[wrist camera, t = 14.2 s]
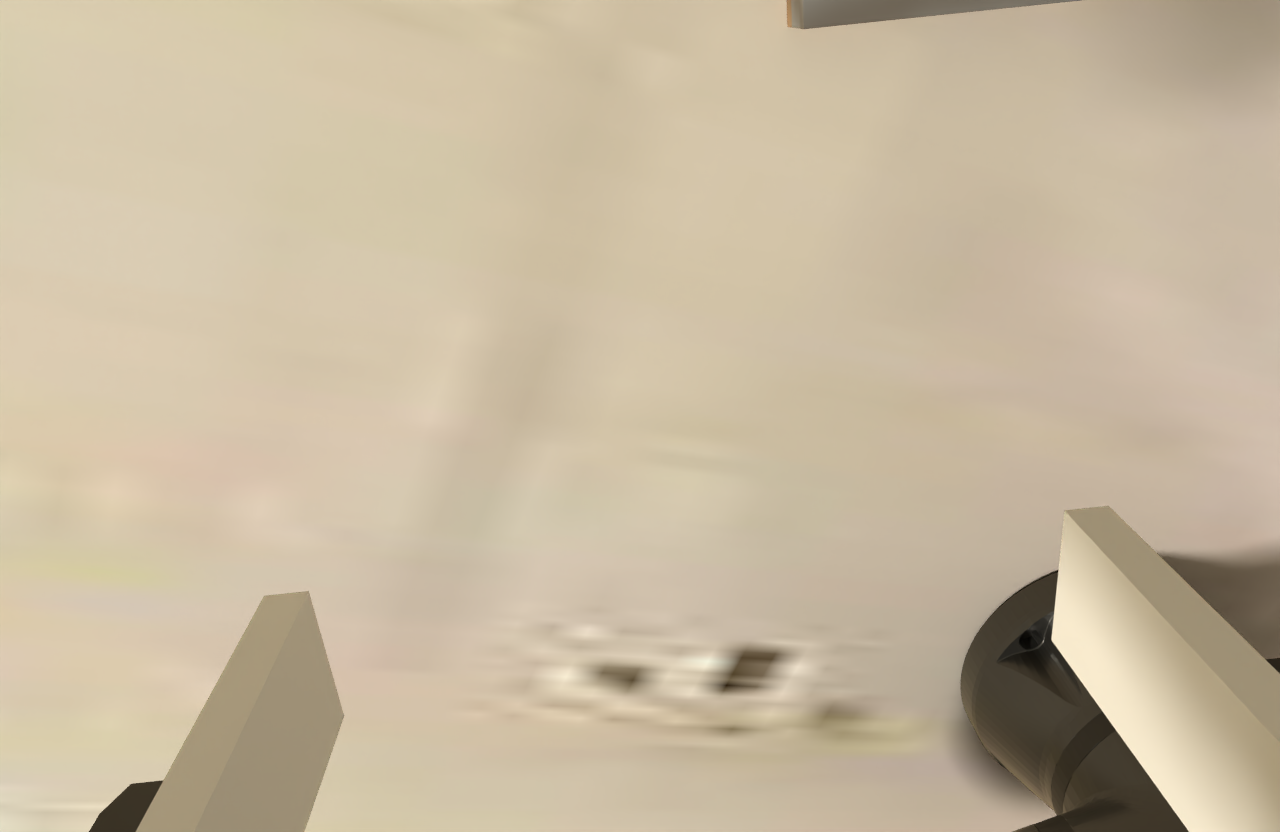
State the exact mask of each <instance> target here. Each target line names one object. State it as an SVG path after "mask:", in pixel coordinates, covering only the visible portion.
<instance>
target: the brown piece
mask: <svg viewBox="0 0 1280 832" xmlns="http://www.w3.org/2000/svg"><path fill="white" fill-rule="evenodd" d="M1070 1H1080V0H787V24H788V27H793V28H800V29H809V28H819V27H828V26H838V25H848V24H857V23H867V22H877V21H886V20H896V19H906V18H915V17H925V16H935V15H944V14H954V13H964V12H973V11H983V10H993V9H1002V8H1012V7H1022V6H1031V5H1041V4H1051V3H1060V2H1070Z"/></svg>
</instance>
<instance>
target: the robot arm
mask: <svg viewBox="0 0 1280 832" xmlns="http://www.w3.org/2000/svg"><path fill="white" fill-rule="evenodd" d="M961 696H962V702H963V705H964V709H965V711H966V714H967V716H968V718H969V720H970V722H971V724H972V725H973V727H974V729H975V731H976V733H977V735H978V737H979V739H980V741H981V742H982V744H983V745H984V747H985V748H986V750H987V751H988V752H989V753H990V755H991V756H992V757H993V758H994V759H995V760H996V761H997V762H998V763H999V764H1000V765H1001V766H1003V767H1004V768H1006V769H1007V770H1008V771H1010V772H1011V773H1012V774H1013V775H1014V776H1015V777H1016V778H1017V779H1019V780H1020V781H1021V782H1022V783H1023V784H1024V785H1025V786H1026V787H1027V788H1028V789H1029V790H1031V791H1032V792H1033V793H1034V794H1035V795H1036V796H1037V797H1039V798H1040V799H1041V800H1042V801H1043V802H1044V803H1045V804H1047V805H1048V806H1049V807H1050V808H1051V809H1052V810H1054V811H1055V813H1056V815H1057V816H1055V817H1052V818H1050V819H1047V820H1044V821H1042V822H1039V823H1036V824H1032V825H1029V826H1027V827H1024V828H1021V829H1018V830H1016V831H1013V832H1280V658H1276V659H1267V660H1265V659H1264V658H1263V657H1262V656H1261V655H1260V654H1259V653H1258V652H1257V651H1256V650H1255V649H1254V648H1253V647H1252V646H1251V645H1250V644H1249V643H1248V642H1247V641H1246V640H1245V639H1244V638H1243V637H1242V636H1241V635H1240V634H1239V633H1238V632H1237V631H1236V630H1235V629H1234V628H1233V627H1232V626H1231V625H1230V624H1229V623H1228V622H1227V621H1226V620H1225V619H1223V618H1222V617H1221V616H1220V615H1219V614H1218V613H1217V612H1216V611H1215V610H1214V609H1213V608H1212V607H1211V606H1210V605H1209V604H1208V603H1207V602H1206V601H1205V600H1204V599H1203V598H1202V597H1201V596H1200V595H1199V594H1198V593H1197V592H1196V591H1195V590H1194V589H1193V588H1192V587H1191V586H1190V585H1189V584H1188V583H1187V582H1186V581H1185V580H1184V579H1183V578H1182V577H1181V576H1180V575H1179V574H1178V573H1177V572H1176V571H1175V570H1173V569H1172V568H1171V567H1170V566H1169V565H1168V564H1167V563H1166V562H1165V561H1164V560H1163V559H1162V558H1161V557H1160V556H1159V555H1158V554H1157V553H1156V552H1155V551H1154V550H1153V549H1152V548H1151V547H1150V546H1149V545H1148V544H1147V543H1146V542H1145V541H1144V540H1143V539H1142V538H1141V537H1140V536H1139V535H1138V534H1137V533H1136V532H1135V531H1134V530H1133V529H1132V528H1131V527H1130V526H1129V525H1128V524H1127V523H1126V522H1124V521H1123V520H1122V519H1121V518H1120V517H1119V516H1118V515H1117V514H1116V513H1115V512H1114V511H1113V510H1112V509H1111V508H1110V507H1109V506H1103V507H1094V508H1084V509H1075V510H1066V511H1065V513H1064V522H1063V532H1062V542H1061V551H1060V561H1059V571H1058V572H1057V573H1054V574H1052V575H1049V576H1047V577H1045V578H1043V579H1040V580H1038V581H1036V582H1035V583H1033V584H1031V585H1029V586H1027V587H1026V588H1024V589H1022V590H1021V591H1019V592H1018V593H1017V594H1015V595H1014V596H1012V597H1011V598H1010V599H1009V600H1007V601H1006V602H1005V603H1004V604H1003V605H1001V606H1000V607H999V608H998V609H997V610H996V611H995V612H994V613H993V614H992V615H991V616H990V618H989V619H988V620H987V621H986V622H985V623H984V625H983V626H982V627H981V629H980V630H979V632H978V633H977V635H976V636H975V638H974V640H973V642H972V643H971V646H970V648H969V650H968V652H967V655H966V657H965V661H964V664H963V669H962V674H961ZM343 718H344V714H343V711H342V707H341V704H340V700H339V697H338V693H337V689H336V686H335V682H334V679H333V675H332V672H331V668H330V665H329V661H328V658H327V654H326V651H325V647H324V644H323V640H322V637H321V633H320V630H319V626H318V623H317V619H316V616H315V612H314V608H313V605H312V601H311V598H310V594H309V591H306V592H296V593H287V594H278V595H268V596H264V597H263V599H262V601H261V603H260V605H259V606H258V608H257V610H256V612H255V614H254V616H253V617H252V619H251V621H250V623H249V625H248V627H247V628H246V630H245V632H244V634H243V636H242V638H241V639H240V641H239V643H238V645H237V647H236V649H235V650H234V652H233V654H232V656H231V658H230V660H229V661H228V663H227V665H226V667H225V669H224V671H223V672H222V674H221V676H220V678H219V680H218V682H217V683H216V685H215V687H214V689H213V691H212V693H211V694H210V696H209V698H208V700H207V702H206V704H205V705H204V707H203V709H202V711H201V713H200V715H199V716H198V718H197V720H196V722H195V724H194V726H193V727H192V729H191V731H190V733H189V735H188V737H187V738H186V740H185V742H184V744H183V746H182V748H181V749H180V751H179V753H178V755H177V757H176V759H175V760H174V762H173V764H172V766H171V768H170V770H169V771H168V773H167V775H166V777H165V779H164V780H163V781H154V782H145V783H136V784H131V785H130V786H128V787H127V788H126V789H125V790H124V791H123V792H122V793H121V794H120V795H119V796H118V797H117V798H116V799H115V800H114V801H113V802H112V803H111V804H110V805H109V806H108V807H106V808H105V809H104V810H103V811H102V812H101V813H100V814H99V816H98V818H97V819H96V821H95V823H94V824H93V826H92V828H91V829H90V831H89V832H304V831H305V828H306V825H307V822H308V820H309V817H310V814H311V811H312V808H313V805H314V802H315V799H316V796H317V793H318V790H319V787H320V785H321V782H322V779H323V776H324V773H325V770H326V767H327V764H328V761H329V758H330V755H331V752H332V750H333V747H334V744H335V741H336V738H337V735H338V732H339V729H340V726H341V723H342V720H343Z"/></svg>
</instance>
